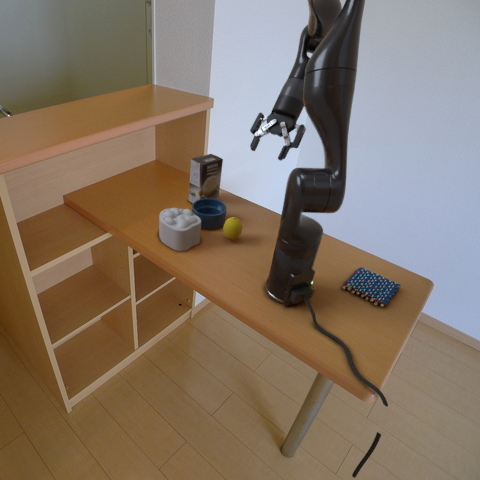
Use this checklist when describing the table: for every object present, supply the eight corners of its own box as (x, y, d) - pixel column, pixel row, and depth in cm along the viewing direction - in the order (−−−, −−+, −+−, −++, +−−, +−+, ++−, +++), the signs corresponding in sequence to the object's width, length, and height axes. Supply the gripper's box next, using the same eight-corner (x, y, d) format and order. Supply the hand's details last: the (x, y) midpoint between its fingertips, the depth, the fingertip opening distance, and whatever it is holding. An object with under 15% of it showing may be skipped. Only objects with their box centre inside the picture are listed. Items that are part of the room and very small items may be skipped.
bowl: (231, 226, 116) (232, 211, 113) (199, 233, 113) (200, 218, 110) (215, 210, 125) (216, 196, 121) (186, 216, 122) (186, 201, 118)
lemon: (240, 245, 107) (243, 223, 103) (221, 243, 108) (224, 221, 104) (240, 235, 112) (243, 213, 107) (222, 233, 113) (225, 211, 108)
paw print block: (179, 253, 104) (180, 228, 99) (151, 234, 112) (150, 210, 107) (204, 240, 110) (206, 215, 105) (175, 223, 118) (175, 199, 113)
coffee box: (199, 208, 126) (201, 165, 117) (188, 200, 130) (189, 158, 121) (219, 200, 130) (223, 158, 121) (207, 194, 134) (211, 152, 125)
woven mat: (357, 270, 98) (359, 264, 97) (399, 289, 92) (402, 283, 91) (340, 288, 92) (342, 282, 91) (383, 310, 86) (386, 304, 85)
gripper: (265, 88, 100) (239, 143, 103) (314, 100, 93) (286, 159, 96) (271, 98, 106) (247, 150, 109) (319, 111, 99) (292, 166, 102)
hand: (265, 154), depth 102 cm, fingers open, 8 cm apart
